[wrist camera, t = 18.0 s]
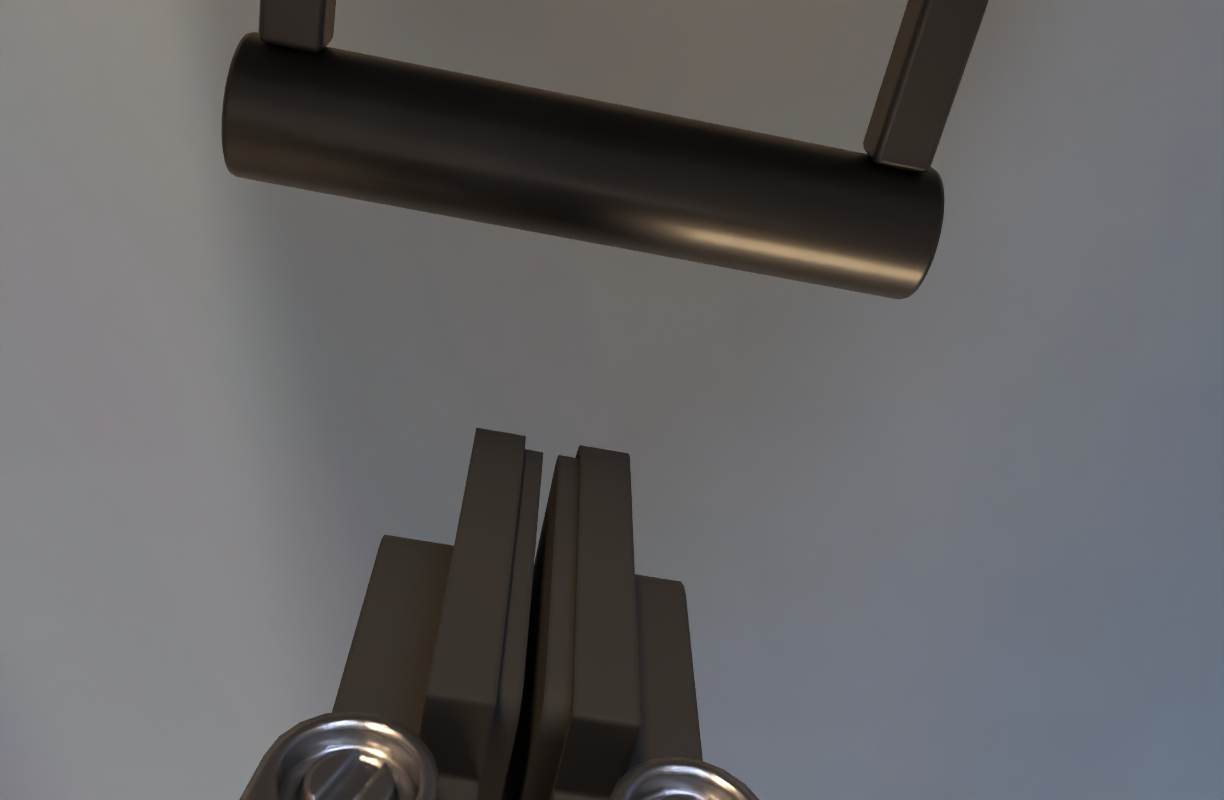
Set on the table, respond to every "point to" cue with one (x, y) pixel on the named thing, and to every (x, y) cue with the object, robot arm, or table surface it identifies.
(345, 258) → the table surface
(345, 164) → the drawer
